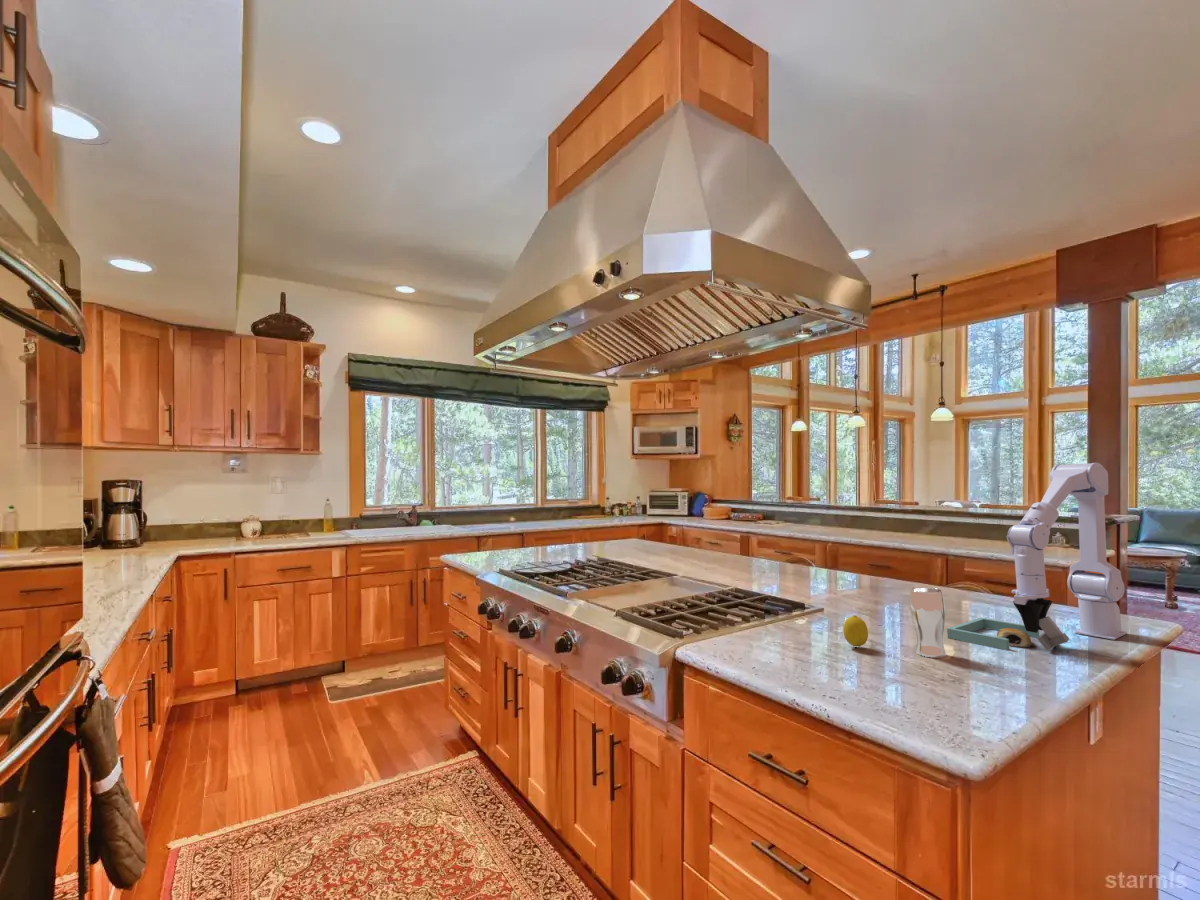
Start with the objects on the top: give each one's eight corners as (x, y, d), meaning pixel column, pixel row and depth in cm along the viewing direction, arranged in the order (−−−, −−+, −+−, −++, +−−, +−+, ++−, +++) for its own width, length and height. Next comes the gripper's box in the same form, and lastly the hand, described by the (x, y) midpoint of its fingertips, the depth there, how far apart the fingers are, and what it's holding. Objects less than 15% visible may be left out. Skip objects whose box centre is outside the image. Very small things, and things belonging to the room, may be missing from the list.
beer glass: (945, 651, 130) (941, 587, 131) (950, 660, 124) (945, 593, 125) (912, 648, 133) (908, 586, 134) (915, 657, 127) (911, 591, 128)
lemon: (871, 652, 131) (869, 618, 132) (847, 651, 132) (845, 617, 133) (865, 645, 137) (863, 612, 137) (841, 644, 138) (840, 612, 138)
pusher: (1054, 643, 134) (1035, 620, 136) (1071, 637, 131) (1052, 613, 134) (1046, 650, 127) (1027, 626, 130) (1064, 643, 125) (1045, 618, 128)
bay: (981, 626, 151) (980, 617, 151) (1039, 636, 140) (1038, 627, 140) (947, 637, 141) (947, 628, 141) (1007, 650, 130) (1006, 639, 130)
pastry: (997, 636, 142) (996, 621, 142) (1030, 640, 138) (1029, 625, 138) (997, 645, 134) (996, 629, 134) (1032, 650, 130) (1031, 634, 130)
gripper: (1023, 568, 141) (1028, 622, 140) (997, 575, 133) (1002, 632, 132) (1057, 572, 135) (1062, 628, 134) (1032, 578, 127) (1037, 638, 126)
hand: (1034, 630), depth 133 cm, fingers closed on pusher, 3 cm apart
